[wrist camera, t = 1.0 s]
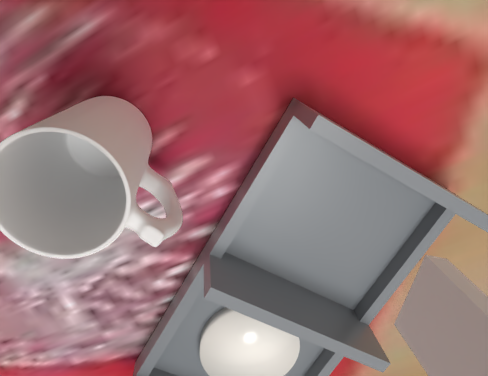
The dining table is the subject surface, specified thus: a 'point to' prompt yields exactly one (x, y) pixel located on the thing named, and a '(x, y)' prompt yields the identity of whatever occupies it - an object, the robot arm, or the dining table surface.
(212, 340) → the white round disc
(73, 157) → the mug
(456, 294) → the robot arm
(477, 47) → the dining table surface
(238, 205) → the rack
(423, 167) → the dining table surface
